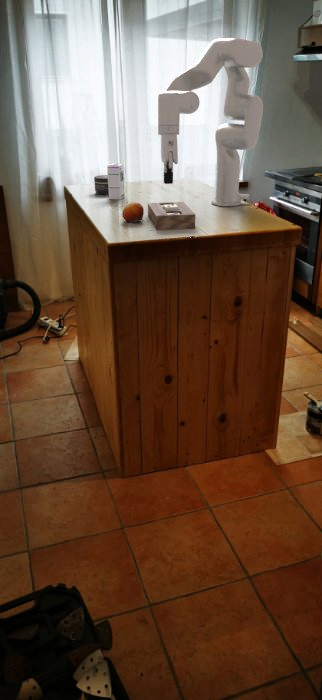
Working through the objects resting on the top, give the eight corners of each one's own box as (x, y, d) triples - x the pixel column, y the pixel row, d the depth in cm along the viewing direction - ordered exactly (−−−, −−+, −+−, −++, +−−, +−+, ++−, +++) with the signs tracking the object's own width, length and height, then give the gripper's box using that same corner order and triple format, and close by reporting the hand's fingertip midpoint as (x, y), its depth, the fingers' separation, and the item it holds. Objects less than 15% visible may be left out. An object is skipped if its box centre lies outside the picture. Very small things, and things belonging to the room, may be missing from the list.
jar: (101, 190, 265) (101, 174, 262) (120, 192, 261) (119, 175, 258) (90, 194, 257) (89, 177, 254) (109, 196, 253) (109, 178, 250)
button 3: (178, 218, 204) (179, 212, 203) (181, 221, 200) (181, 214, 199) (166, 218, 203) (166, 212, 202) (168, 221, 199) (168, 215, 198)
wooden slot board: (183, 214, 219) (183, 201, 217) (195, 228, 200) (195, 214, 198) (148, 216, 217) (147, 203, 215) (156, 230, 198) (156, 215, 196)
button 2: (175, 209, 209) (175, 203, 208) (177, 212, 205) (177, 206, 204) (163, 210, 209) (163, 204, 208) (165, 212, 205) (165, 206, 204)
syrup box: (121, 199, 246) (120, 165, 240) (108, 199, 247) (106, 164, 241) (124, 197, 251) (123, 163, 245) (112, 196, 252) (110, 163, 246)
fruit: (140, 221, 204) (130, 201, 203) (125, 230, 209) (115, 210, 208) (152, 216, 210) (142, 197, 209) (137, 225, 215) (128, 206, 214)
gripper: (182, 131, 192) (181, 186, 200) (175, 128, 205) (175, 179, 213) (161, 132, 191) (160, 187, 199) (155, 128, 204) (155, 180, 212)
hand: (168, 183), depth 206 cm, fingers closed
